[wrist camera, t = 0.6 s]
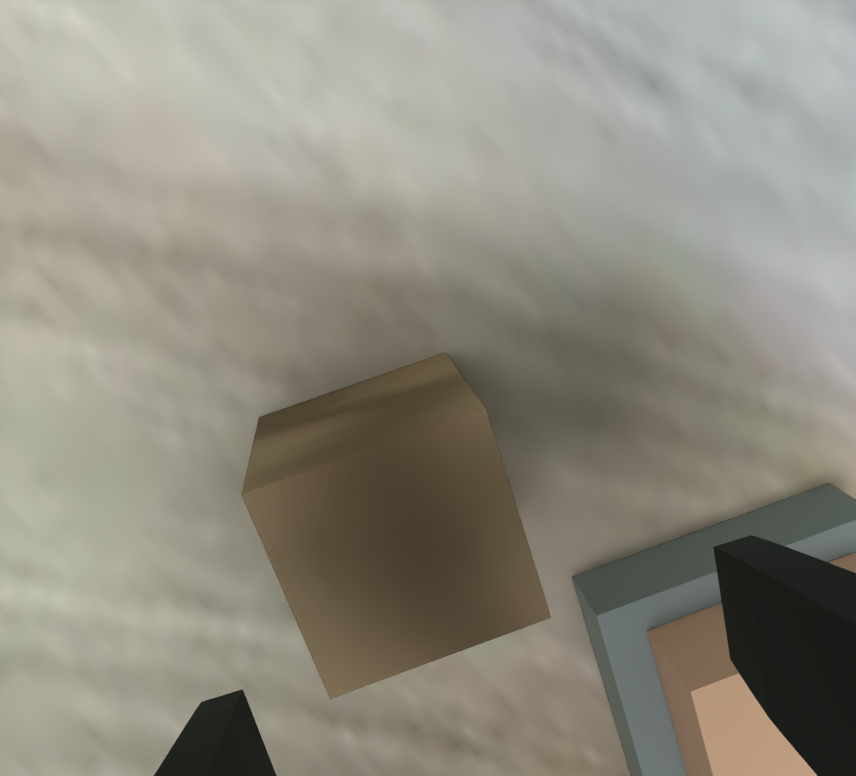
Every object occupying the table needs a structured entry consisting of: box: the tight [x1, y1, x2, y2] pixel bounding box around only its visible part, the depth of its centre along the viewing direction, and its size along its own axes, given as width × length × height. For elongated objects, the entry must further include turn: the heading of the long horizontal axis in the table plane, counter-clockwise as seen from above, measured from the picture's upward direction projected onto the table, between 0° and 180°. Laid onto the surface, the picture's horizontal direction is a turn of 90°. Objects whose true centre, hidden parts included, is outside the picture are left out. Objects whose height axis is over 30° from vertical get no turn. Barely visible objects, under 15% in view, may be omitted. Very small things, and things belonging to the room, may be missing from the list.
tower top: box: [647, 553, 856, 776], centre depth 20 cm, size 6×6×2 cm
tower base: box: [572, 483, 856, 776], centre depth 23 cm, size 8×8×2 cm
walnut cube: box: [241, 353, 551, 699], centre depth 18 cm, size 5×5×5 cm
